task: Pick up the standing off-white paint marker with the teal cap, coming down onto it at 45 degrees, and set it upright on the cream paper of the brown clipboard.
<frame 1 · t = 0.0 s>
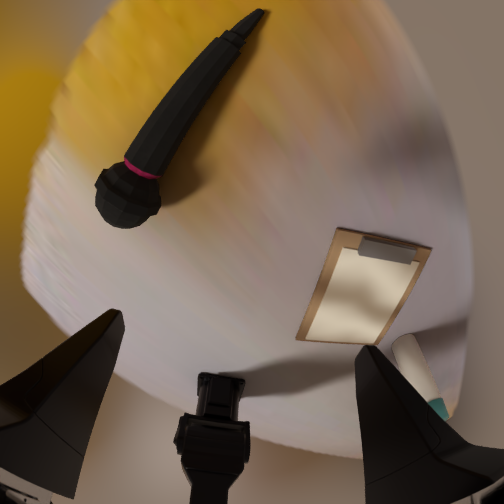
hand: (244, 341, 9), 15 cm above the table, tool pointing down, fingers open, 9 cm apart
clipboard: (362, 296, 27), on the table
microphone: (189, 117, 19), on the table
marker: (403, 343, 31), on the table
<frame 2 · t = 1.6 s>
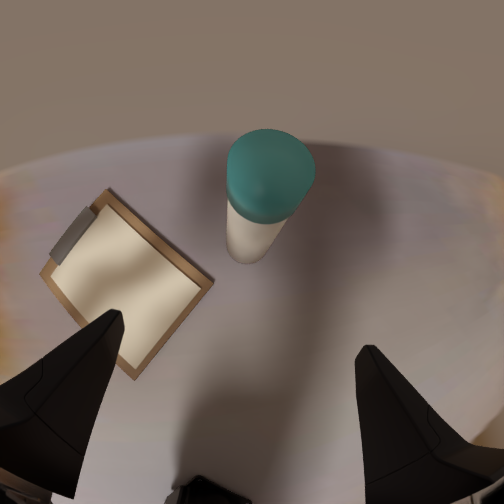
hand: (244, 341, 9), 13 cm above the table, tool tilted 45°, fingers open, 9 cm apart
clipboard: (114, 280, 22), on the table
marker: (247, 243, 24), on the table
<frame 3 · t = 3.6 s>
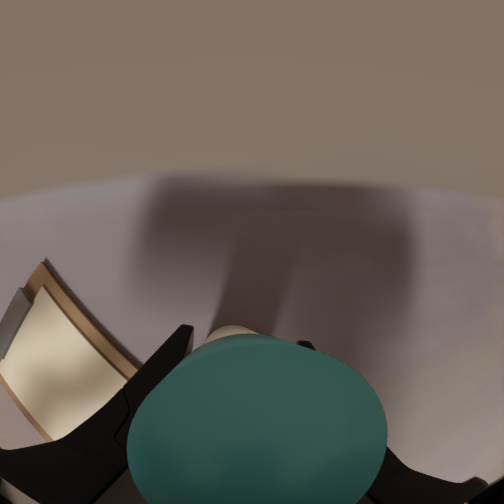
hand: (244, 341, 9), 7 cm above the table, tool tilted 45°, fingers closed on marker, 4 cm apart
clipboard: (64, 387, 13), on the table
marker: (233, 354, 15), on the table, touching gripper
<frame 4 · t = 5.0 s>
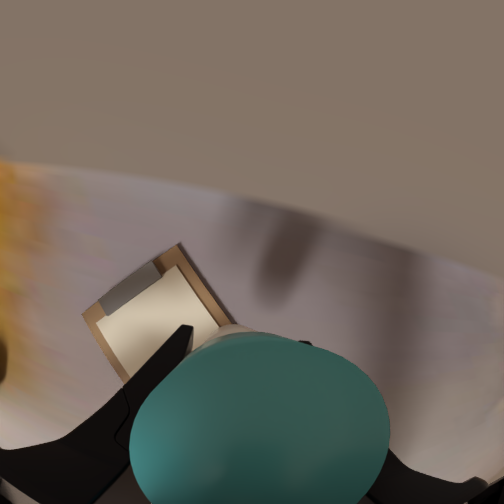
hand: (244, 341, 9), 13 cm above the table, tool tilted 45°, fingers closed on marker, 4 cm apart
clipboard: (171, 349, 21), on the table
marker: (233, 353, 15), point 7 cm above the table, touching gripper
when the fingers open (8 cm above the table, at t = 6.5 s): marker stays where it is, resting on clipboard.
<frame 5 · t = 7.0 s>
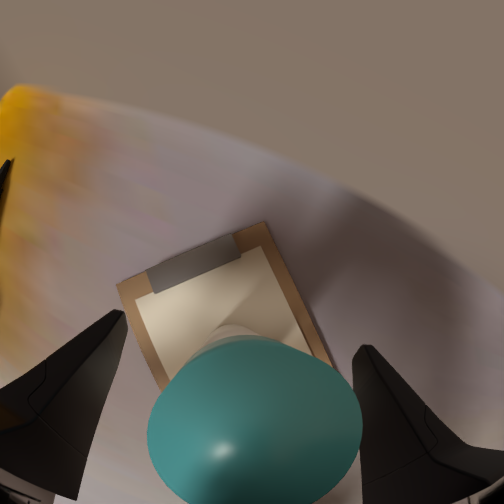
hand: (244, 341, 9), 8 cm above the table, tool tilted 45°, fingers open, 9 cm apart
clipboard: (232, 351, 17), on the table
marker: (232, 352, 16), point 1 cm above the table, touching clipboard
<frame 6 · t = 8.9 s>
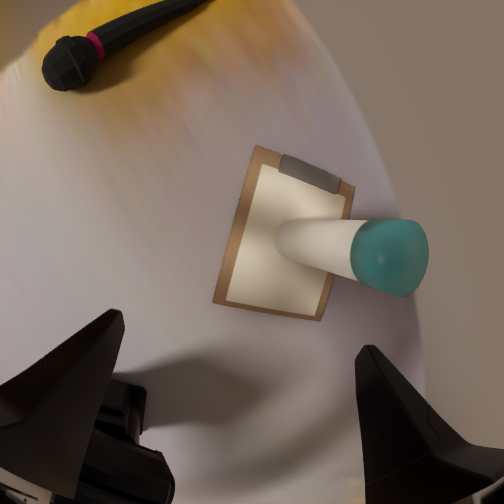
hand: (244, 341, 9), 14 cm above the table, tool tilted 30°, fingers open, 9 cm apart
clipboard: (290, 238, 25), on the table
microphone: (139, 39, 18), on the table
marker: (293, 239, 24), point 1 cm above the table, touching clipboard
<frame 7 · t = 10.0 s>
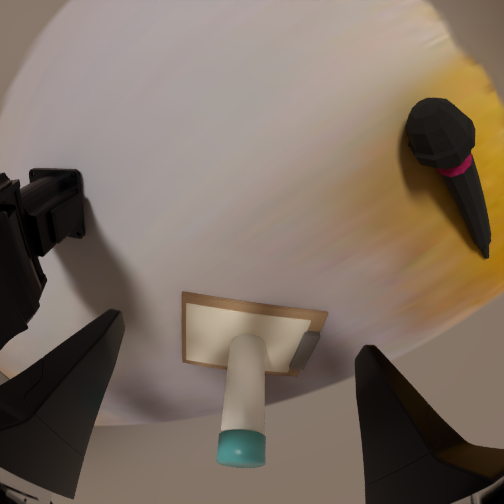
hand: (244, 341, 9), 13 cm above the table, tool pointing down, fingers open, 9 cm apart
clipboard: (247, 340, 28), on the table
microphone: (451, 192, 19), on the table
marker: (247, 345, 27), point 1 cm above the table, touching clipboard
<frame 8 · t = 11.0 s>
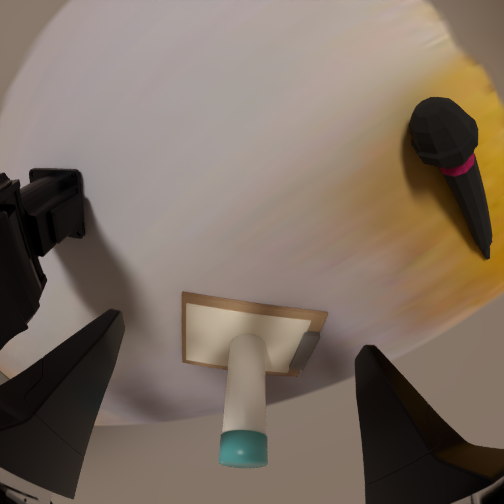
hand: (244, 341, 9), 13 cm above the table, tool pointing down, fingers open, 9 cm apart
clipboard: (247, 340, 28), on the table
microphone: (453, 192, 19), on the table
marker: (247, 345, 27), point 1 cm above the table, touching clipboard
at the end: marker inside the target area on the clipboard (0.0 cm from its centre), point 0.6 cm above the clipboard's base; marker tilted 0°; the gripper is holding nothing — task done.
